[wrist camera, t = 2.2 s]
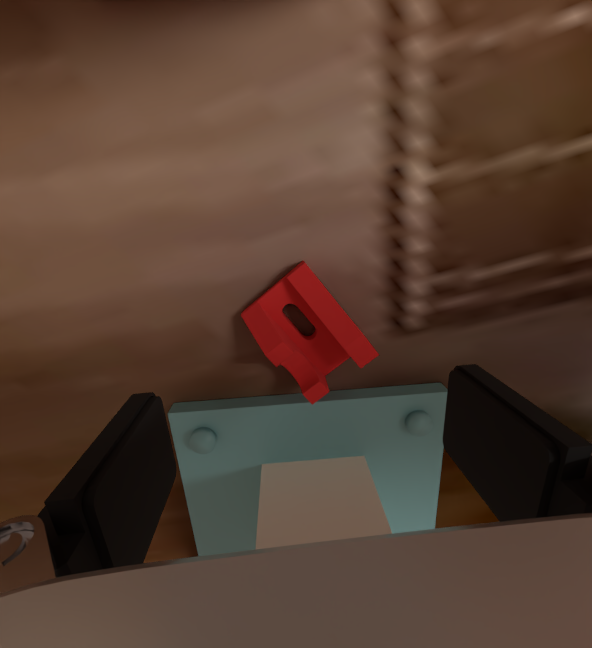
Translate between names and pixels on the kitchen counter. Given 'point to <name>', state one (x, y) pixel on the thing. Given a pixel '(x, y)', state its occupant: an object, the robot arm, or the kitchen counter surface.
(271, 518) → the base block
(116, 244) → the kitchen counter surface
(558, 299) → the kitchen counter surface
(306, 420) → the baseplate
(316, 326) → the bracket
